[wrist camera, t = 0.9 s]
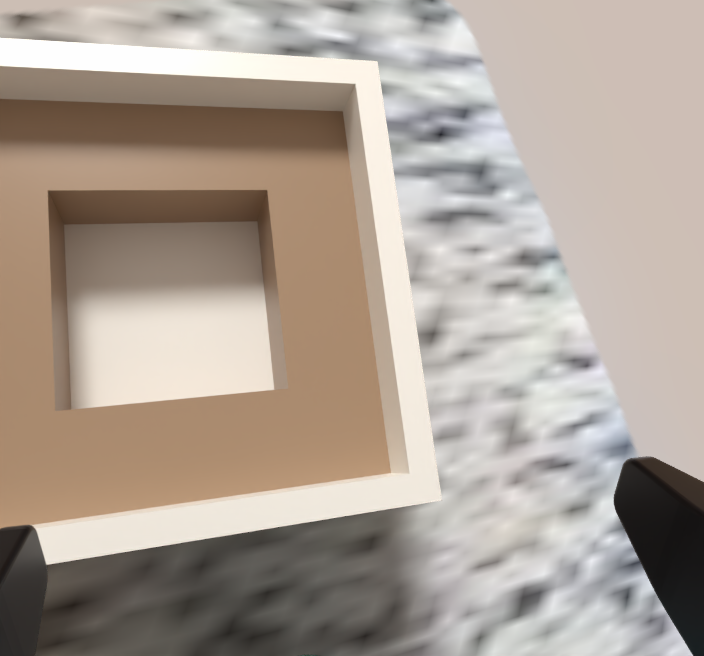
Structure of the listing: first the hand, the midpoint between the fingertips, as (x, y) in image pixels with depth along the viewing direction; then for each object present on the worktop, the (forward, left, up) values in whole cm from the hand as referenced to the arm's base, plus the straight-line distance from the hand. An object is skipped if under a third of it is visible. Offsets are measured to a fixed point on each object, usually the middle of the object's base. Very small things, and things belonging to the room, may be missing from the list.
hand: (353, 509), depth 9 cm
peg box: (+6, +2, -11) cm, 13 cm away
